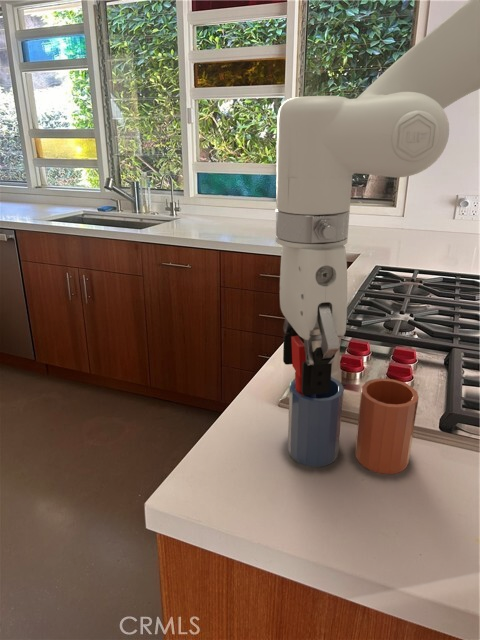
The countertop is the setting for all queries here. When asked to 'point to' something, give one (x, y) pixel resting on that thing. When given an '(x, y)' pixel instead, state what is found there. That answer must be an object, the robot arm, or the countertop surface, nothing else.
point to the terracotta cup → (385, 425)
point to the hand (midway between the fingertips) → (305, 375)
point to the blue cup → (315, 425)
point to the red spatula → (298, 360)
